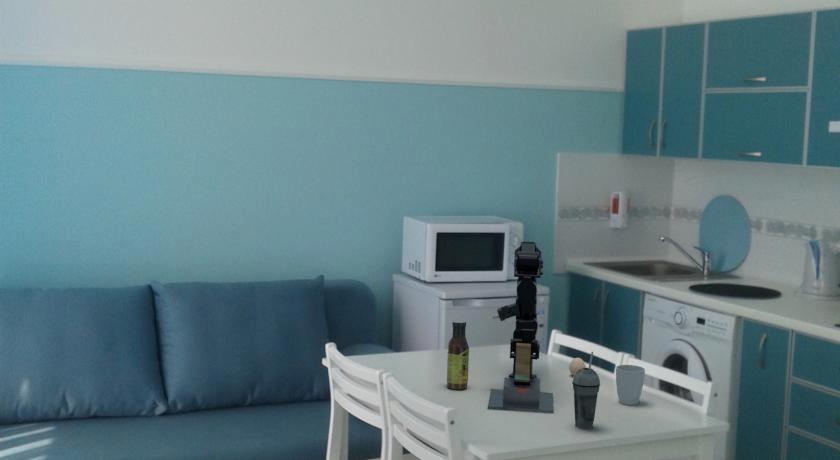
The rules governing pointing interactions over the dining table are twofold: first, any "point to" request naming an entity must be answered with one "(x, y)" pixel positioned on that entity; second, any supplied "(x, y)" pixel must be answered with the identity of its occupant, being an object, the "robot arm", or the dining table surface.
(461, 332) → the sauce bottle
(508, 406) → the stand
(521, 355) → the post
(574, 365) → the egg
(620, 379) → the cup
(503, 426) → the dining table surface
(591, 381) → the beverage cup
